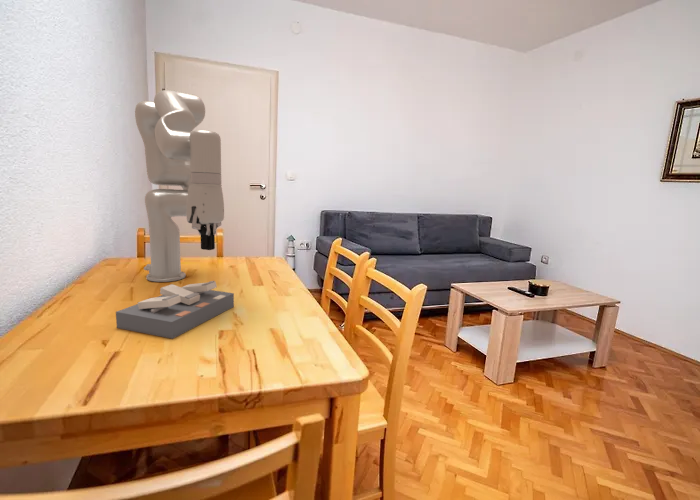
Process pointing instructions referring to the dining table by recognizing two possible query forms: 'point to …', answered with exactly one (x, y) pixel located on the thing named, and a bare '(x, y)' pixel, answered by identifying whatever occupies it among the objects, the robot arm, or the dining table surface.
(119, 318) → the switch unit
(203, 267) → the dining table surface
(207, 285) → the rocker
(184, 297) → the rocker
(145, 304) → the rocker
